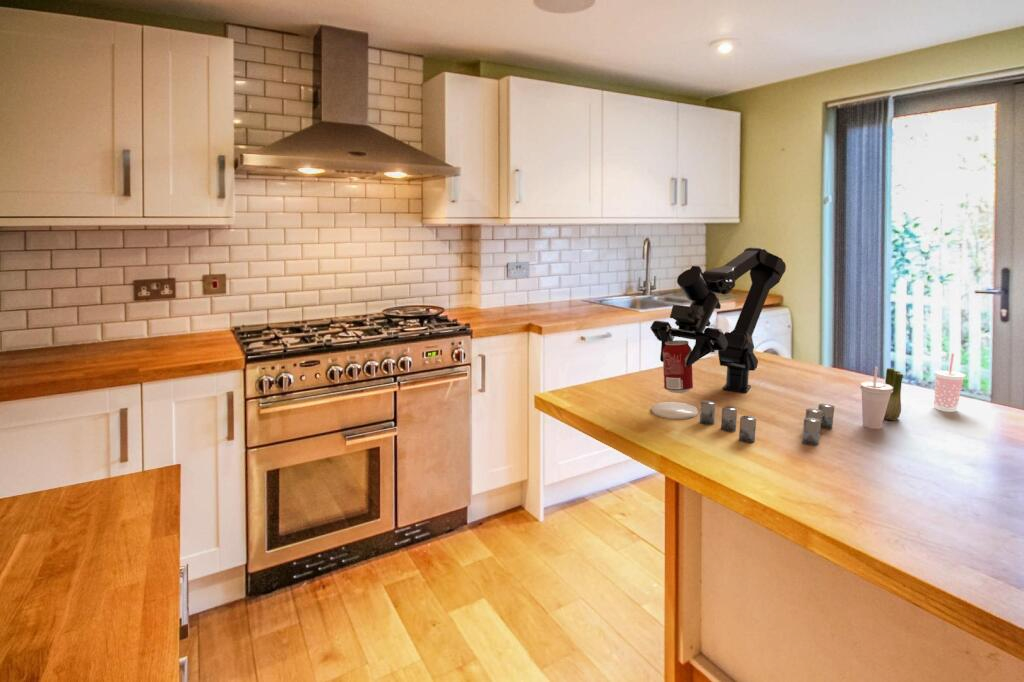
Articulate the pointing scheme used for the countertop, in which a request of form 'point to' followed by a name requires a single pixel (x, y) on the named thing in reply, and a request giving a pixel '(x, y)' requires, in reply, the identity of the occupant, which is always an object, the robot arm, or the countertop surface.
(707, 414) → the spacer field
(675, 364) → the soda can
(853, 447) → the countertop surface
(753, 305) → the robot arm
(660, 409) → the coaster
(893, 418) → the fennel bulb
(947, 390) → the beverage cup
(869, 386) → the smoothie
